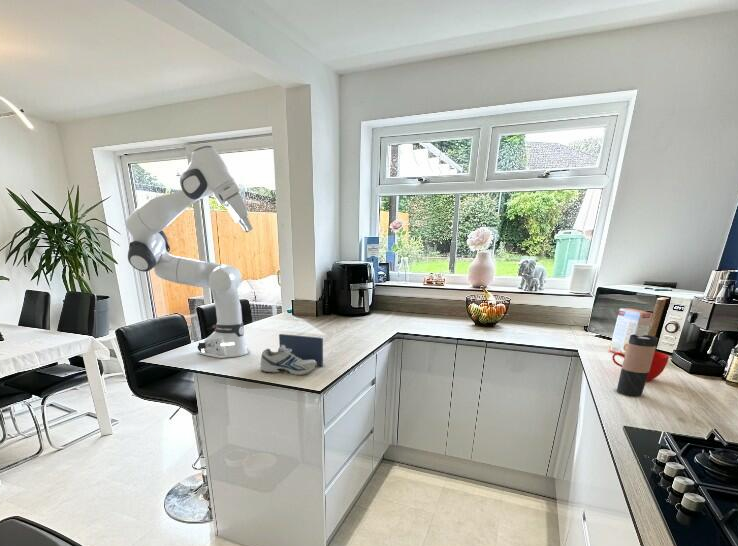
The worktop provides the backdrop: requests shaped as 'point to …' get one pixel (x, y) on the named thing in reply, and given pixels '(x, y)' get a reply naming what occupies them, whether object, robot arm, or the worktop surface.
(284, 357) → the athletic shoe
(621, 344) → the cracker box
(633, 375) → the travel mug
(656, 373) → the ceramic cup
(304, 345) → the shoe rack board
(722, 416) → the worktop surface
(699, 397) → the worktop surface
